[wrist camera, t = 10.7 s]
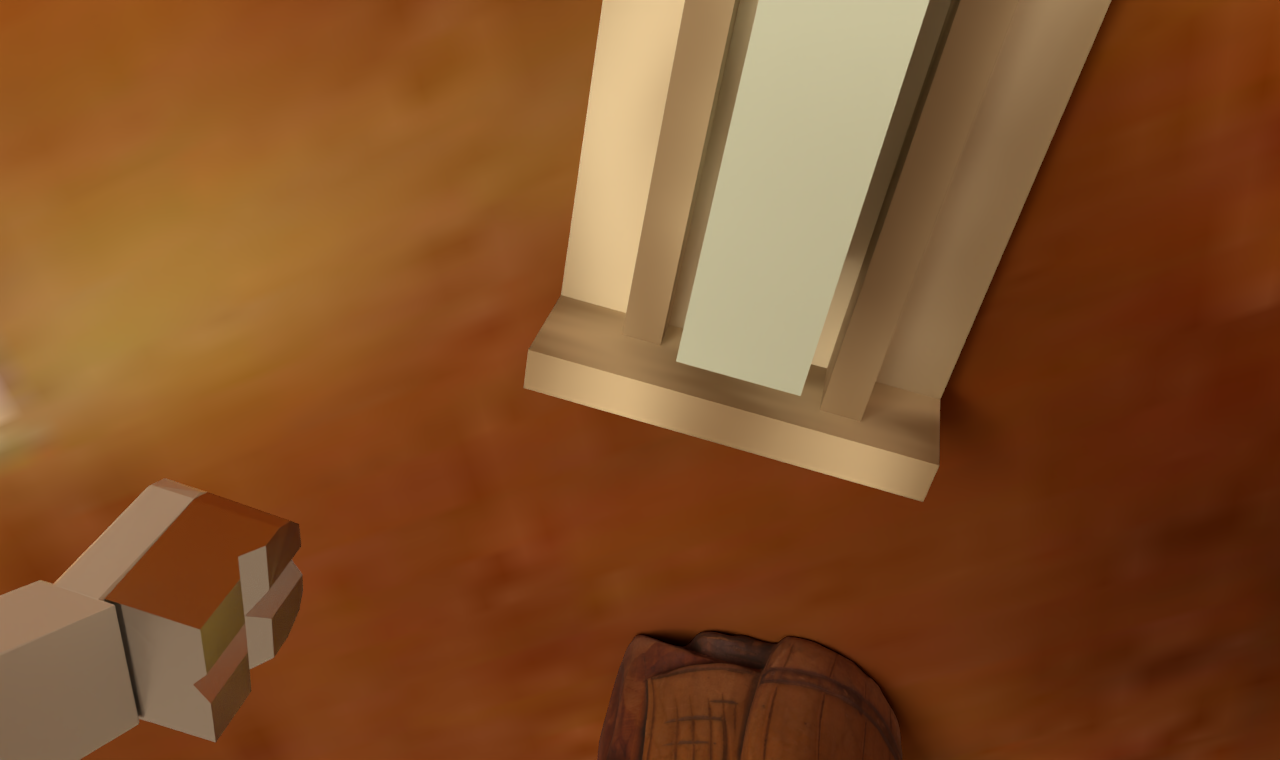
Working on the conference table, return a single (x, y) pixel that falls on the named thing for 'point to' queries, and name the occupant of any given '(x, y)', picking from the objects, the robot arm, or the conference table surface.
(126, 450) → the conference table surface
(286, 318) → the conference table surface
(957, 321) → the track frame
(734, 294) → the cream rectangular block
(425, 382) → the conference table surface
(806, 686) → the wooden figurine
